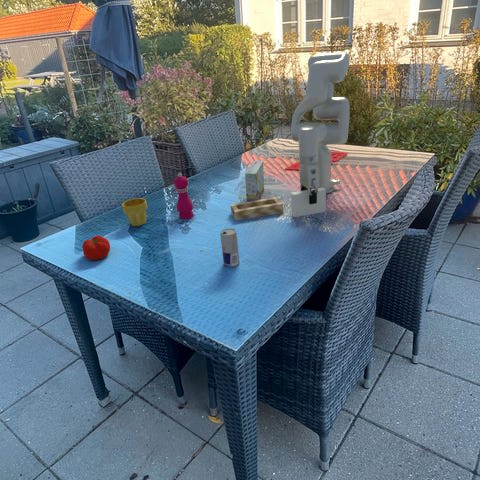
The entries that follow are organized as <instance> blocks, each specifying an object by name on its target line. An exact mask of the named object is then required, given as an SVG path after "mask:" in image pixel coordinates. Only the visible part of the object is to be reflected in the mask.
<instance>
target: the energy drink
mask: <svg viewBox="0 0 480 480" xmlns="http://www.w3.org/2000/svg"><path fill="white" fill-rule="evenodd" d="M219 235H220V243H221V251H222V260H223V261H222V262H223V265H224V266H225V267H226V268H227V267H228V268H235V267H236V266H238V265H239V264H240V255H239V254H240V253H239V245H238V234H237V231H236V229H234V228H225V229H222V230H221V231H220V234H219Z"/></svg>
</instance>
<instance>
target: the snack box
mask: <svg viewBox="0 0 480 480" xmlns="http://www.w3.org/2000/svg"><path fill="white" fill-rule="evenodd" d="M264 176H265V175H264V160H253V161H252V163H251V164H250V166H249V167H248V169H247V170H246V172H245V174H244V177H245V195H246V202H249V201H255V200H261V197H262V195H263V193H264V191H265V181H264V180H265V177H264Z"/></svg>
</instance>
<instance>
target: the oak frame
mask: <svg viewBox="0 0 480 480" xmlns="http://www.w3.org/2000/svg"><path fill="white" fill-rule="evenodd" d="M230 213H231V215H232V217H233V219H234V220H235V221H240V220H241V221H242V220H249V219H253V218H258V217H259V218H260V217H264V216H265V217H266V216H271V215H277V214H282V213H284V203H283V202H282V201H281V200H279V198H278V197H277V196H273V197H269V198H268V197H267V198H262V199H261V198H260V200H255V201H249V202H247V201H245V202H238V203H232V204H231V203H230Z"/></svg>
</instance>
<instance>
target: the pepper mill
mask: <svg viewBox="0 0 480 480" xmlns="http://www.w3.org/2000/svg"><path fill="white" fill-rule="evenodd" d="M173 185H174V186H175V190H176V193H177V194H178V198H177V203H176V210H177V212H178V217H179V219H181V220H190V219H192V218H193V217H194V211H193V210H194V204H193V202H192V200H191V199H190V197H189V194H188V191H189V187H188V185H189V181H188V178H187V177H186V176H183V174H182V173H181V172H179V173H177V177H175V178H174V180H173Z"/></svg>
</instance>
